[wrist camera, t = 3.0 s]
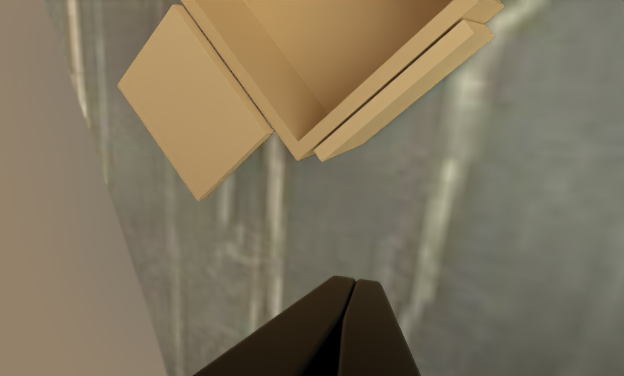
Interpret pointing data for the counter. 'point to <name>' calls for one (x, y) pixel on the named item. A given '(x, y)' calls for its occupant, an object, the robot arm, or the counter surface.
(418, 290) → the counter surface
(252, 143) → the carton
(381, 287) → the robot arm
